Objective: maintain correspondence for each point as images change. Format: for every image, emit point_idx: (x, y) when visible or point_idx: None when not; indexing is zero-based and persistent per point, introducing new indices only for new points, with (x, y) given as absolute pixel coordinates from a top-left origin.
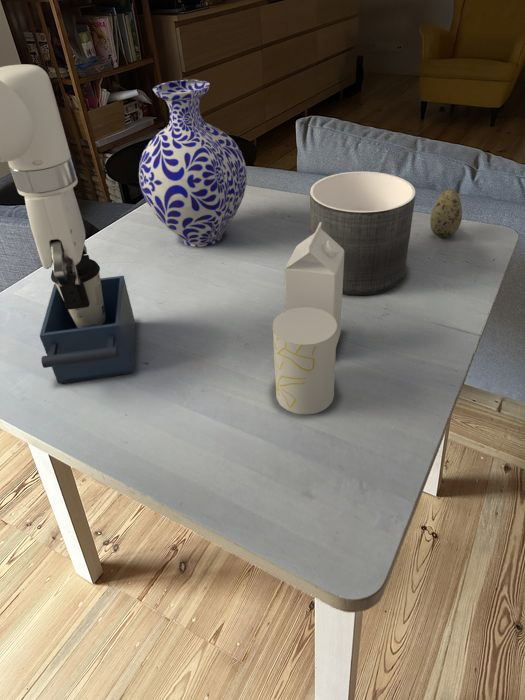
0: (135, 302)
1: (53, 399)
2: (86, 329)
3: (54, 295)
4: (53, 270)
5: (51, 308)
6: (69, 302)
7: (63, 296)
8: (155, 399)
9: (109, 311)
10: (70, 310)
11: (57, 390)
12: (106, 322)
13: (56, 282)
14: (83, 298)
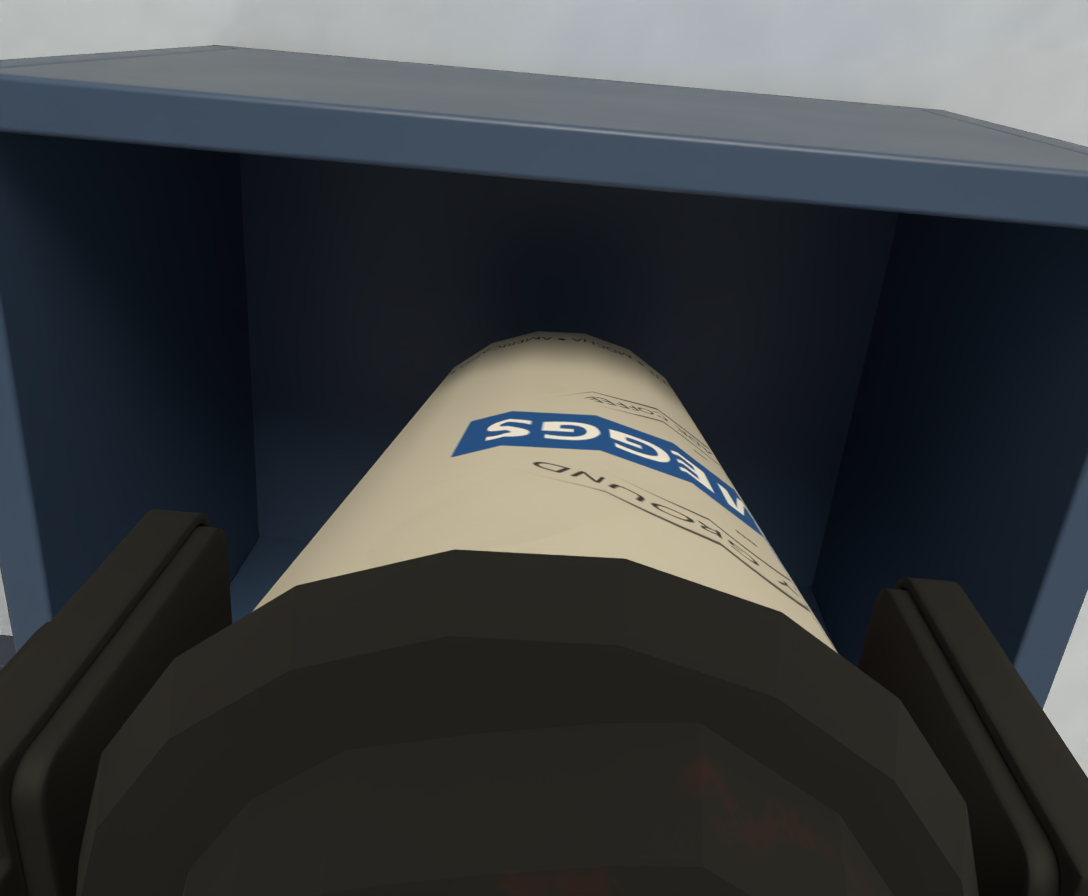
0: (1085, 609)
1: (53, 13)
2: (5, 586)
3: (893, 210)
4: (615, 672)
5: (563, 182)
6: (27, 645)
7: (59, 627)
8: (6, 632)
9: (867, 521)
10: (398, 437)
11: (153, 39)
12: (850, 433)
13: (177, 679)
14: None
